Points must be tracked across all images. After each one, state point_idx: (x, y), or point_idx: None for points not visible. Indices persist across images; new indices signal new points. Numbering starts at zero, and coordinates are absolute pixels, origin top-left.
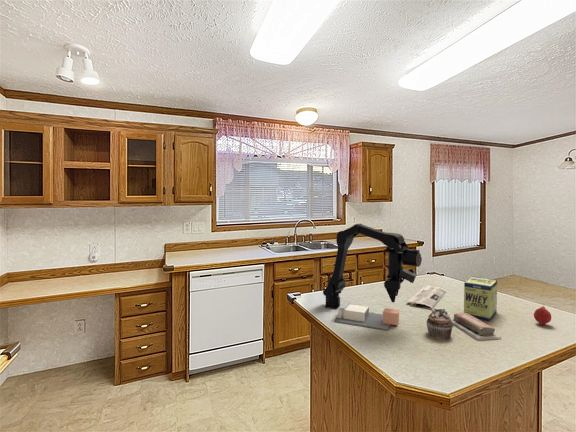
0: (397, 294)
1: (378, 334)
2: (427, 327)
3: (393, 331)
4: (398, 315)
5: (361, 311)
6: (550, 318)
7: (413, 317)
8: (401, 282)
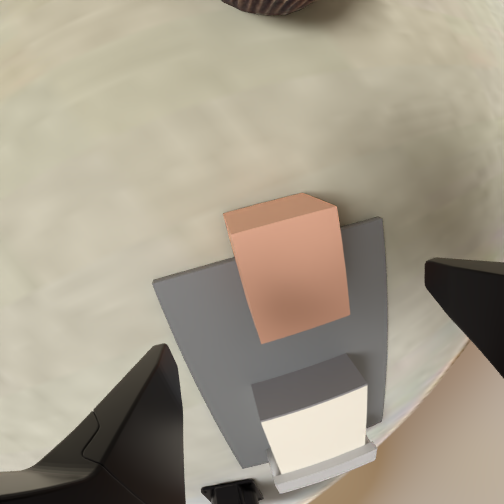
0: (161, 353)
1: (430, 237)
2: (303, 3)
3: (371, 189)
4: (273, 213)
5: (354, 404)
6: None
7: (68, 174)
8: (52, 498)
